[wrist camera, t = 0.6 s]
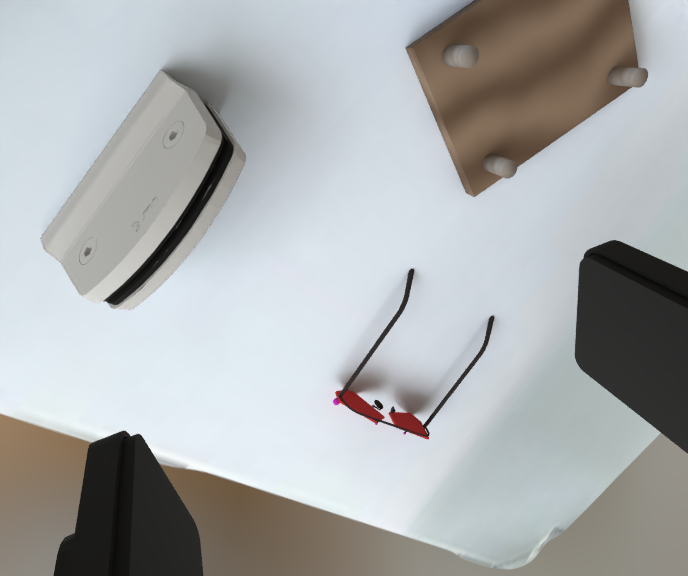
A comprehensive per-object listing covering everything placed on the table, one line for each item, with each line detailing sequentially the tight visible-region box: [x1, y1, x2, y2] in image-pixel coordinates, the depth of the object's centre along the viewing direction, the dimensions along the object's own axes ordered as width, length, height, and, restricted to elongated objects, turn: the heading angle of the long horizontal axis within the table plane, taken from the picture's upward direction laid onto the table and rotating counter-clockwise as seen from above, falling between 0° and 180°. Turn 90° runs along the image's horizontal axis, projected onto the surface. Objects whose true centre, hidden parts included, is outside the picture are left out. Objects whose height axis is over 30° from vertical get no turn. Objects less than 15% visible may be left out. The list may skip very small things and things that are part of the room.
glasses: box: [333, 269, 494, 439], centre depth 54 cm, size 14×16×5 cm
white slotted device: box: [40, 70, 246, 310], centre depth 35 cm, size 17×5×10 cm, turn 137°
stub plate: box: [406, 0, 648, 197], centre depth 43 cm, size 15×20×4 cm
